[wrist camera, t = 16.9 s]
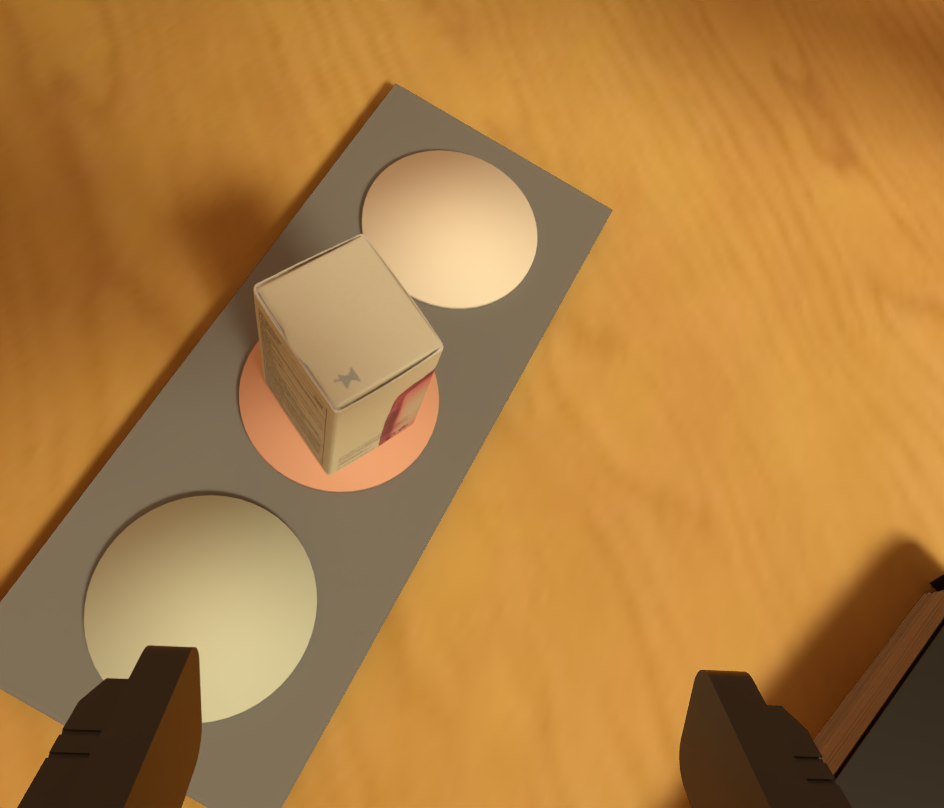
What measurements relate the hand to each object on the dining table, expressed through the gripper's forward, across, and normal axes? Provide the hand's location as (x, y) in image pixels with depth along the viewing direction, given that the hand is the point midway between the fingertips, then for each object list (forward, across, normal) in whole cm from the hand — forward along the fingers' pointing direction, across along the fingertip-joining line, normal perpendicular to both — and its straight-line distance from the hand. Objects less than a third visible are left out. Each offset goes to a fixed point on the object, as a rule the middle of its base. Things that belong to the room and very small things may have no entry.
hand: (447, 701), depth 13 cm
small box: (+21, +4, +3) cm, 21 cm away
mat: (+22, +4, +4) cm, 22 cm away
